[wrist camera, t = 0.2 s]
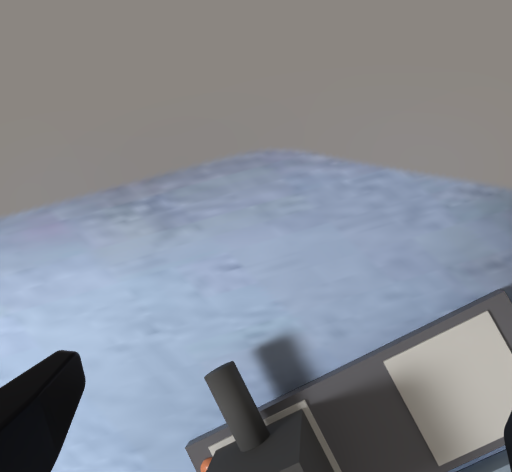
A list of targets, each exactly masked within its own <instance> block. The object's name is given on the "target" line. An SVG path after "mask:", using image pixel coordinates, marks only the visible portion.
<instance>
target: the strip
mask: <svg viewBox="0 0 512 472" xmlns="http://www.w3.org/2000/svg"><path fill="white" fill-rule="evenodd" d="M257 409H258V411H259V413H260V415H261V417H262V419H263V421H264V423H265V425H266V426H267V425H269V424H271V423H273V422H275V421H277V420H279V419H281V418H283V417H285V416H288V415H290V414H292V413H294V412H296V411H298V410H300V409H303V411H304V413H305V415H306V417H307V419H308V421H309V423H310V425H311V427H312V429H313V431H314V433H315V435H316V437H317V439H318V441H319V442H320V444H321V446H322V448H323V450H324V452H325V454H326V456H327V458H328V460H329V462H330V464H331V466H332V468H333V470H334V472H447V471H449V470H451V469H453V468H456V467H458V466H460V465H462V464H464V463H467V462H469V461H471V460H473V459H475V458H477V457H480V456H482V455H484V454H486V453H488V452H491V451H493V450H495V449H497V448H499V447H502V446H504V445H505V441H504V428H505V425H506V422H507V420H508V418H509V415H510V413H511V411H512V303H511V301H510V300H509V298H508V296H507V294H506V293H505V291H502V290H496V291H494V292H492V293H490V294H488V295H486V296H484V297H482V298H480V299H478V300H476V301H474V302H472V303H470V304H468V305H466V306H464V307H462V308H460V309H458V310H456V311H453V312H451V313H449V314H447V315H445V316H443V317H441V318H439V319H437V320H435V321H433V322H431V323H429V324H427V325H425V326H423V327H421V328H419V329H417V330H415V331H413V332H411V333H409V334H407V335H405V336H403V337H401V338H399V339H397V340H395V341H393V342H391V343H389V344H386V345H384V346H382V347H380V348H378V349H376V350H374V351H372V352H370V353H368V354H366V355H364V356H362V357H360V358H358V359H356V360H354V361H352V362H350V363H348V364H346V365H344V366H342V367H340V368H338V369H336V370H334V371H332V372H330V373H328V374H326V375H324V376H321V377H319V378H317V379H315V380H313V381H311V382H309V383H307V384H305V385H303V386H301V387H299V388H297V389H295V390H293V391H291V392H289V393H287V394H285V395H283V396H281V397H279V398H277V399H275V400H273V401H271V402H269V403H267V404H265V405H263V406H261V407H259V408H257ZM234 441H235V439H234V437H233V435H232V433H231V431H230V429H229V427H228V425H227V423H226V424H224V425H222V426H220V427H218V428H216V429H214V430H212V431H210V432H208V433H206V434H204V435H202V436H200V437H198V438H196V439H194V440H192V441H189V443H188V444H187V446H186V447H185V449H186V451H187V453H188V455H189V457H190V459H191V461H192V463H193V465H194V467H195V469H196V471H197V472H206V470H207V468H208V466H209V464H210V462H211V460H212V458H213V456H214V453H215V451H216V450H218V449H220V448H222V447H224V446H226V445H228V444H230V443H232V442H234Z"/></svg>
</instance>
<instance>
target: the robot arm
mask: <svg viewBox="0 0 512 472" xmlns="http://www.w3.org/2000/svg"><path fill="white" fill-rule="evenodd" d="M84 388H85V375H84V371H83V366H82V362H81V358H80V355H79V354H78V353H77V352H74V351H65V350H59V351H57V352H55V353H53V354H52V355H50V356H49V357H47V358H46V359H44V360H43V361H41V362H40V363H38V364H36V365H35V366H33V367H32V368H30V369H29V370H27V371H26V372H24V373H23V374H21V375H19V376H18V377H16V378H15V379H13V380H12V381H10V382H9V383H7V384H6V385H4V386H2V387H1V388H0V472H51V470H52V468H53V466H54V464H55V462H56V460H57V458H58V455H59V453H60V451H61V448H62V446H63V443H64V441H65V438H66V435H67V433H68V430H69V428H70V425H71V422H72V420H73V417H74V414H75V412H76V409H77V407H78V404H79V401H80V399H81V396H82V394H83V391H84ZM504 441H505V446H506V451H507V455H508V460H509V465H510V469H511V472H512V411H511V413H510V415H509V418H508V420H507V422H506V425H505V428H504Z"/></svg>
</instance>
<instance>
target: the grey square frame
mask: <svg viewBox="0 0 512 472" xmlns="http://www.w3.org/2000/svg"><path fill="white" fill-rule="evenodd" d="M458 472H511V469H510V465H509V460H508V455H507V451H506V450H504V451H502V452H499V453H497V454H495V455H493V456H491V457H489V458H486V459H484V460H482V461H480V462H478V463H475V464H473V465H471V466H469V467H467V468H464V469H462V470H460V471H458Z"/></svg>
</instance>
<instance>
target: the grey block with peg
mask: <svg viewBox="0 0 512 472" xmlns="http://www.w3.org/2000/svg"><path fill="white" fill-rule="evenodd" d="M204 378H205V380H206V382H207V384H208V386H209V388H210V390H211V392H212V394H213V396H214V398H215V400H216V402H217V404H218V406H219V409H220V411H221V413H222V415H223V417H224V419H225V421H226V423H227V425H228V427H229V429H230V431H231V433H232V435H233V437H234V439H235V441H234V442H232V443H230V444H228V445H226V446H224V447H222V448H220V449H218V450H216V451H215V453H214V456H213V458H212V460H211V462H210V464H209V466H208V468H207V470H206V472H334V470H333V468H332V466H331V464H330V462H329V460H328V458H327V456H326V454H325V452H324V450H323V448H322V446H321V444H320V442H319V441H318V439H317V437H316V435H315V433H314V431H313V429H312V427H311V425H310V423H309V421H308V419H307V417H306V415H305V413H304V411H303V409H300V410H298V411H296V412H294V413H292V414H290V415H288V416H285V417H283V418H281V419H279V420H277V421H275V422H273V423H271V424H269V425H267V426H266V425H265V423H264V421H263V419H262V417H261V415H260V413H259V411H258V409H257V407H256V405H255V403H254V401H253V399H252V397H251V395H250V393H249V391H248V389H247V387H246V385H245V383H244V381H243V379H242V377H241V375H240V373H239V371H238V369H237V367H236V365H235V363H234V361H231V362H228V363H226V364H224V365H222V366H220V367H218V368H216V369H215V370H213V371H211V372H210V373H209V374H207V375H206V376H205V377H204Z"/></svg>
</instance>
